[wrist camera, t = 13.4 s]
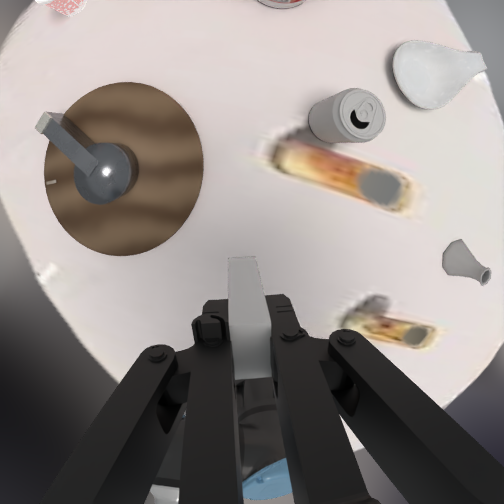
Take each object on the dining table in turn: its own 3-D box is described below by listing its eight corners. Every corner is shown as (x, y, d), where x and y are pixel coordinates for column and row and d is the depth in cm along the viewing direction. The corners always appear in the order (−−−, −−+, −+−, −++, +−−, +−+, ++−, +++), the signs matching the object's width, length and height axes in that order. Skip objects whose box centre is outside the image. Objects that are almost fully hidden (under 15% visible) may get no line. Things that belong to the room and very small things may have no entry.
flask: (468, 261, 49) (498, 281, 39) (444, 280, 50) (474, 303, 40) (462, 232, 46) (496, 250, 37) (438, 251, 47) (471, 272, 38)
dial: (149, 165, 37) (138, 168, 32) (117, 209, 39) (102, 218, 34) (73, 98, 33) (54, 94, 27) (45, 141, 34) (24, 143, 29)
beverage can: (298, 125, 38) (325, 117, 27) (322, 92, 37) (356, 74, 26) (333, 151, 40) (370, 154, 29) (356, 118, 38) (398, 112, 27)
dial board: (210, 247, 44) (209, 250, 42) (62, 258, 42) (58, 261, 41) (199, 71, 35) (198, 68, 33) (43, 105, 33) (39, 105, 32)
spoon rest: (402, 119, 39) (428, 117, 32) (371, 53, 35) (393, 41, 28) (480, 88, 37) (505, 86, 30) (457, 34, 33) (480, 27, 26)
